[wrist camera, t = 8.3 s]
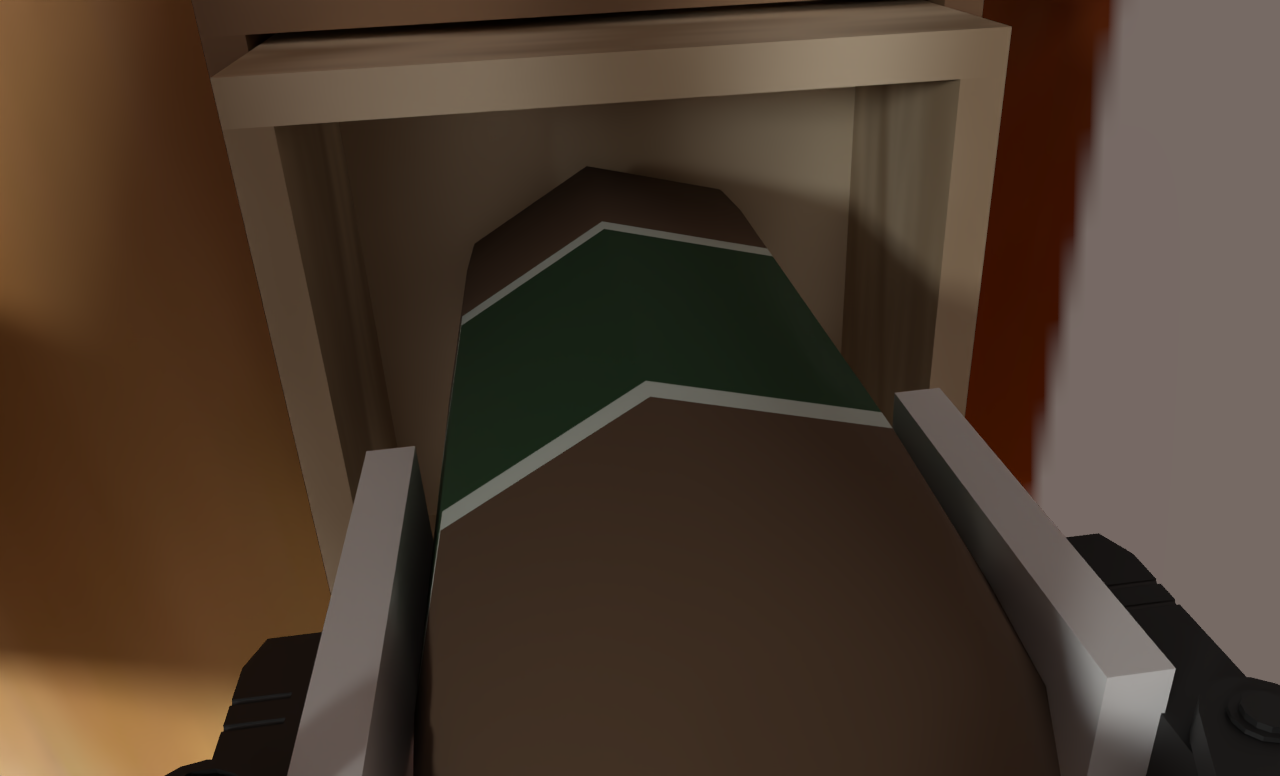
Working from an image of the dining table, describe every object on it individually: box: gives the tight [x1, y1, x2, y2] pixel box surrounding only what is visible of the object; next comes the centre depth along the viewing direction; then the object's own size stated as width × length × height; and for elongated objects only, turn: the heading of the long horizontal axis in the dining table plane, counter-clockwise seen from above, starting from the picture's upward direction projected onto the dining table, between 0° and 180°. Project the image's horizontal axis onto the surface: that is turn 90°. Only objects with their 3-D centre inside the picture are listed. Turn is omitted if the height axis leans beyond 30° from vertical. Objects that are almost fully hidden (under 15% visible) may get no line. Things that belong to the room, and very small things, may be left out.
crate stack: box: [192, 0, 1012, 594], centre depth 23 cm, size 15×15×9 cm
